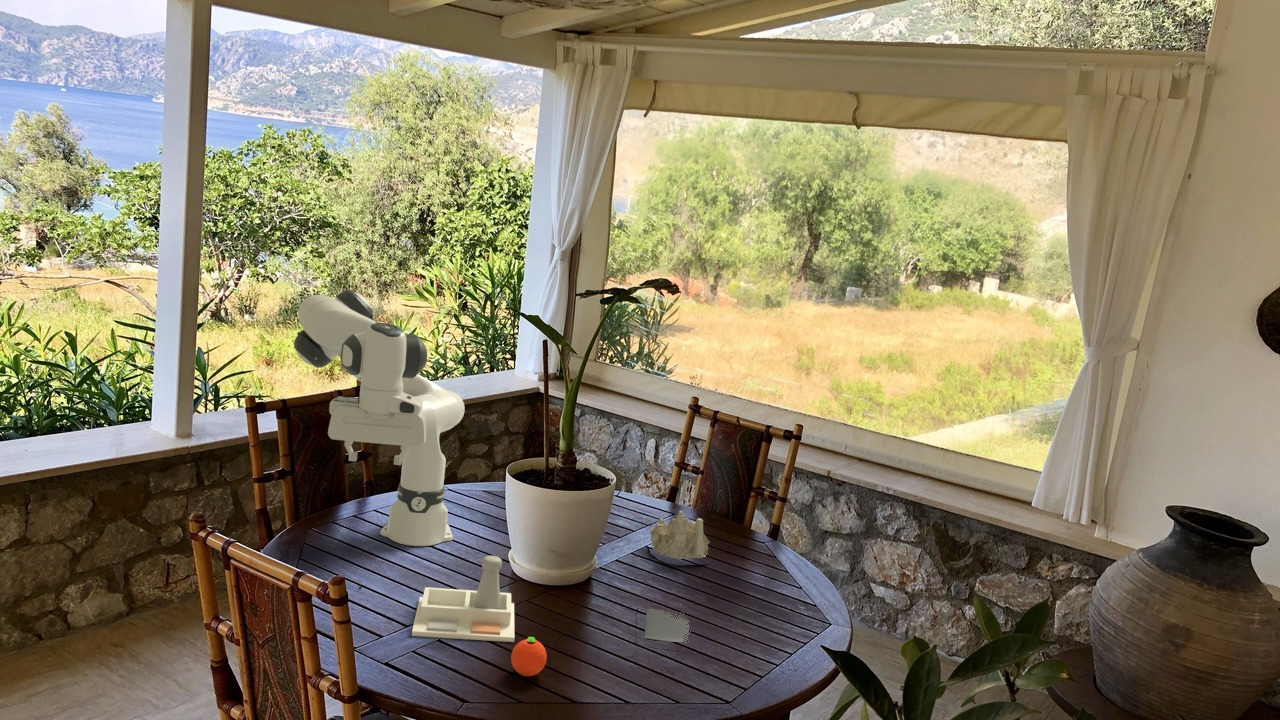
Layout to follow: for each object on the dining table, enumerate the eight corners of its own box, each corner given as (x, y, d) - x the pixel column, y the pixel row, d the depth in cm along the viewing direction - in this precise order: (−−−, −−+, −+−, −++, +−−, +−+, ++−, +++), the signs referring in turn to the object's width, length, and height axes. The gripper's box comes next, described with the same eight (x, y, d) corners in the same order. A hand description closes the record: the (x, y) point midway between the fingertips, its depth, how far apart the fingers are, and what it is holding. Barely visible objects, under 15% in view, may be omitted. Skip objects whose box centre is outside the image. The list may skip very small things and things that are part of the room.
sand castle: (715, 566, 250) (719, 513, 249) (658, 567, 246) (662, 513, 244) (695, 548, 265) (700, 498, 264) (641, 549, 260) (645, 498, 259)
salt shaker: (491, 622, 196) (498, 565, 194) (467, 615, 198) (474, 558, 196) (503, 612, 202) (510, 556, 200) (480, 606, 204) (487, 550, 202)
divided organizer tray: (419, 601, 204) (421, 584, 204) (513, 607, 208) (515, 590, 207) (411, 635, 188) (413, 617, 187) (513, 642, 191) (516, 624, 190)
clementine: (510, 661, 183) (514, 628, 182) (544, 664, 184) (549, 631, 182) (508, 681, 175) (512, 646, 174) (544, 684, 176) (548, 649, 175)
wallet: (702, 650, 196) (632, 639, 197) (700, 658, 197) (631, 647, 197) (701, 612, 216) (637, 602, 217) (700, 619, 216) (636, 609, 217)
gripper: (327, 398, 191) (322, 462, 193) (427, 407, 194) (421, 470, 196) (333, 392, 197) (328, 454, 199) (429, 401, 200) (423, 462, 202)
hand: (375, 462), depth 197 cm, fingers open, 8 cm apart
